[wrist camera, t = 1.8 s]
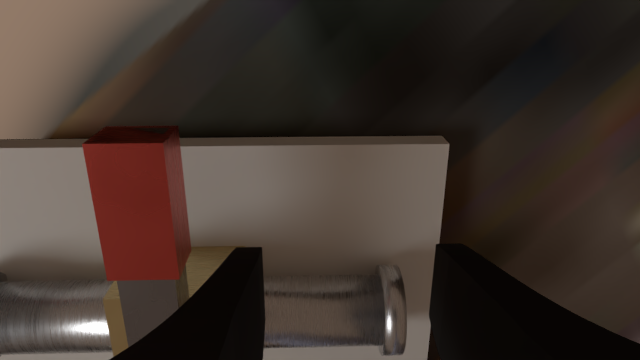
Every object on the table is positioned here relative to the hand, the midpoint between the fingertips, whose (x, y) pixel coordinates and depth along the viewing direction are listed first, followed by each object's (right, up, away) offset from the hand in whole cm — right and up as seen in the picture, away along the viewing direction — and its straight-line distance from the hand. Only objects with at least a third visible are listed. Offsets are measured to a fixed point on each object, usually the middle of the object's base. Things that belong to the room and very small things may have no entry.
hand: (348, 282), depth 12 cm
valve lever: (-6, -1, +5) cm, 8 cm away
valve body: (-6, -2, +12) cm, 14 cm away
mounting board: (-6, -2, +12) cm, 14 cm away
